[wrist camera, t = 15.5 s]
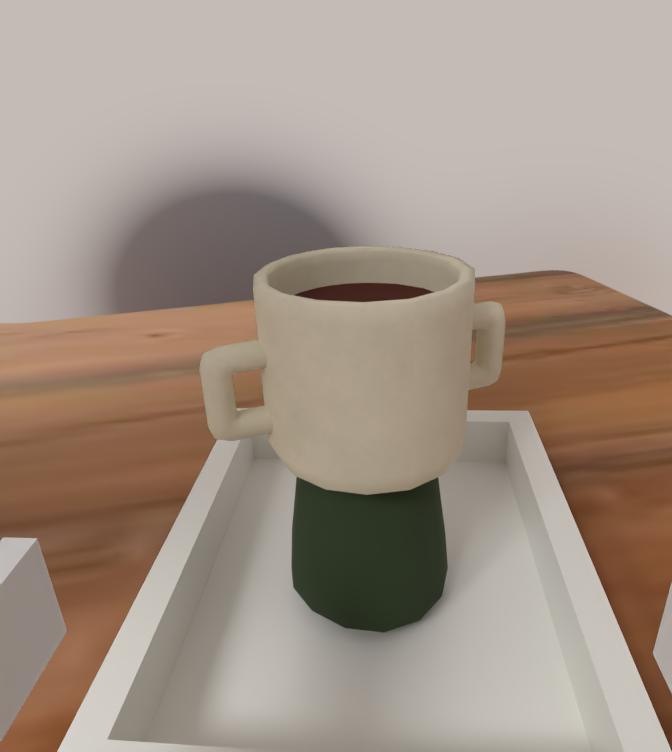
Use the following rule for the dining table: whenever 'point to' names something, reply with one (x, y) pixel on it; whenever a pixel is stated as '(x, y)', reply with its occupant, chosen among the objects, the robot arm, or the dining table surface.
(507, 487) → the tray
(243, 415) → the character mug
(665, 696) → the dining table surface
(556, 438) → the dining table surface
